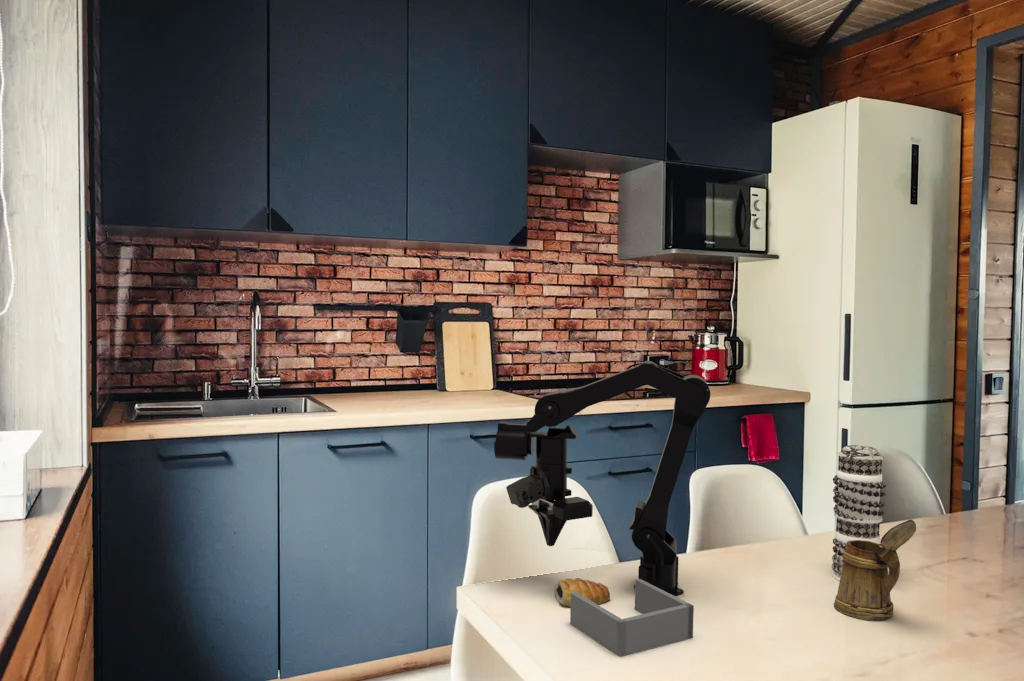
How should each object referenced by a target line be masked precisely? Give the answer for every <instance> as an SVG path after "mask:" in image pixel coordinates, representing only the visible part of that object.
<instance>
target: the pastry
mask: <svg viewBox="0 0 1024 681" xmlns="http://www.w3.org/2000/svg"><path fill="white" fill-rule="evenodd" d="M573 592H577V593H579V594H580V595H582V596H584V597H585V598H587V599H589V600H591V601H592V602H594V603H596V604H597V605H599V606H600V605H602V604H605V603H606V602H609V601H610V599H611V592H610V590H609V587H608V586H606V585H604V584H603V583H600V582H598V583H595V582H594V581H591V580H588V579H583V578H577V577H576V578H575V579H573V578H565V579H559V580H557V584H556V585H555V588H554V593H555V598H556V600H557V601H559V603H560V604H561V605H562V606H565V607H568V608H571V593H573Z"/></svg>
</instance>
